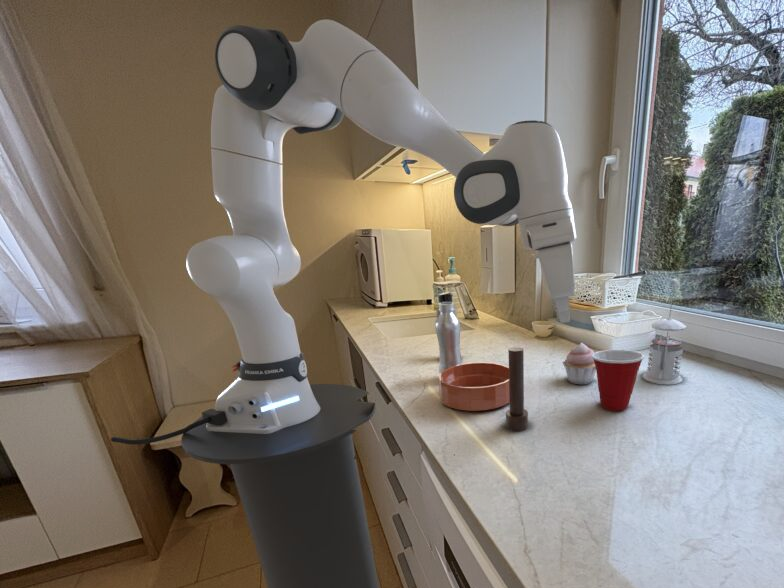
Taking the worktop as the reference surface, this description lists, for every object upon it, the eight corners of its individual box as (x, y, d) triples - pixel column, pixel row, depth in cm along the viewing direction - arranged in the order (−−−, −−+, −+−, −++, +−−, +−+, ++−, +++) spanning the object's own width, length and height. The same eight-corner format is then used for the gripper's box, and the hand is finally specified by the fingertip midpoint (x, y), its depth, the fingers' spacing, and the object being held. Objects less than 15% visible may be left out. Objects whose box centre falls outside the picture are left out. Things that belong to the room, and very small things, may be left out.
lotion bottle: (460, 361, 122) (456, 293, 115) (441, 362, 121) (435, 294, 113) (457, 355, 127) (453, 290, 120) (439, 357, 126) (434, 291, 119)
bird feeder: (684, 374, 108) (698, 277, 99) (679, 389, 98) (693, 283, 89) (646, 369, 112) (656, 275, 103) (637, 383, 103) (647, 281, 94)
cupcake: (586, 372, 111) (588, 336, 107) (605, 383, 103) (608, 345, 99) (555, 377, 108) (556, 340, 104) (573, 389, 100) (574, 349, 96)
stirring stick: (506, 431, 80) (504, 352, 74) (505, 421, 84) (503, 346, 78) (529, 430, 80) (528, 352, 74) (526, 420, 84) (526, 345, 78)
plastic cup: (621, 393, 97) (625, 344, 93) (649, 411, 87) (655, 357, 83) (580, 399, 94) (582, 349, 89) (604, 419, 84) (608, 363, 80)
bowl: (437, 415, 87) (434, 389, 85) (444, 386, 103) (442, 363, 101) (517, 412, 88) (517, 386, 86) (512, 383, 104) (512, 361, 102)
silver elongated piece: (468, 376, 109) (464, 301, 102) (457, 385, 103) (452, 306, 96) (446, 374, 111) (440, 300, 104) (435, 383, 105) (427, 305, 98)
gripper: (528, 238, 77) (541, 310, 81) (530, 237, 58) (548, 332, 62) (561, 231, 76) (573, 304, 81) (575, 227, 57) (589, 324, 61)
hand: (562, 316), depth 71 cm, fingers open, 8 cm apart
